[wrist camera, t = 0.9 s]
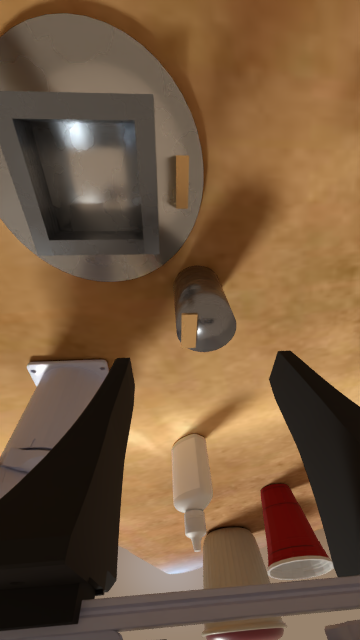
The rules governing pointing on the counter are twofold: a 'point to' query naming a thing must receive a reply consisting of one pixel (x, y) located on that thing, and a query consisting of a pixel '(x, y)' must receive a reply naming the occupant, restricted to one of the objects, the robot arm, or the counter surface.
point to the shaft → (202, 310)
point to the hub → (94, 149)
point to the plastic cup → (290, 537)
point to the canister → (236, 582)
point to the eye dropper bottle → (192, 484)
